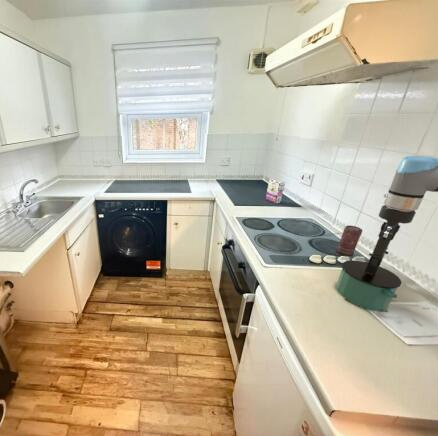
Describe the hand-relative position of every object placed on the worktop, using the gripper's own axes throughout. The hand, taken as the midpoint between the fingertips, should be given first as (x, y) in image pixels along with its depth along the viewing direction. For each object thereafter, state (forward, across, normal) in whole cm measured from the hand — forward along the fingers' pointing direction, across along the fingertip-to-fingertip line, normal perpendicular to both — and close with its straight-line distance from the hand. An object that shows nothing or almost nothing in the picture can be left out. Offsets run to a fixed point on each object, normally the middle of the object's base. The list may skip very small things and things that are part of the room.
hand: (371, 270), depth 82 cm
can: (+11, -30, -12) cm, 34 cm away
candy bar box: (+11, -83, -70) cm, 109 cm away
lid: (+1, 0, 0) cm, 1 cm away
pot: (+11, 0, 0) cm, 11 cm away
